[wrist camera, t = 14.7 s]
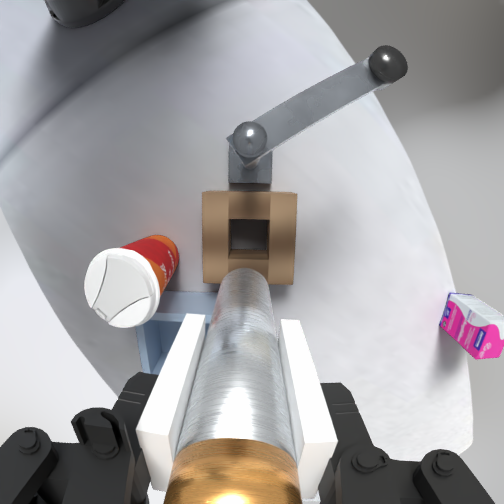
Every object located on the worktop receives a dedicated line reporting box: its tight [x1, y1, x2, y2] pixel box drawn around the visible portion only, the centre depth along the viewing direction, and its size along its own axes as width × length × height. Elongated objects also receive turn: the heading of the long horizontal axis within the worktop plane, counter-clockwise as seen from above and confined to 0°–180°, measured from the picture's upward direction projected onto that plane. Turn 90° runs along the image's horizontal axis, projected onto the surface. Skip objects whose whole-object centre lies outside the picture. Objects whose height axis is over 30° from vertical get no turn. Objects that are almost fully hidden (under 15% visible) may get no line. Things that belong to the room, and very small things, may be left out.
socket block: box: [202, 191, 297, 285], centre depth 36 cm, size 10×10×5 cm
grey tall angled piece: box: [226, 45, 408, 169], centre depth 24 cm, size 13×2×20 cm, turn 124°
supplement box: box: [439, 293, 504, 359], centre depth 35 cm, size 6×6×12 cm
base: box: [229, 144, 272, 183], centre depth 35 cm, size 5×5×1 cm
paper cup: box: [84, 235, 179, 328], centre depth 32 cm, size 8×8×14 cm
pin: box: [164, 268, 302, 504], centre depth 11 cm, size 3×3×15 cm
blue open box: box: [136, 291, 218, 375], centre depth 37 cm, size 10×10×7 cm
